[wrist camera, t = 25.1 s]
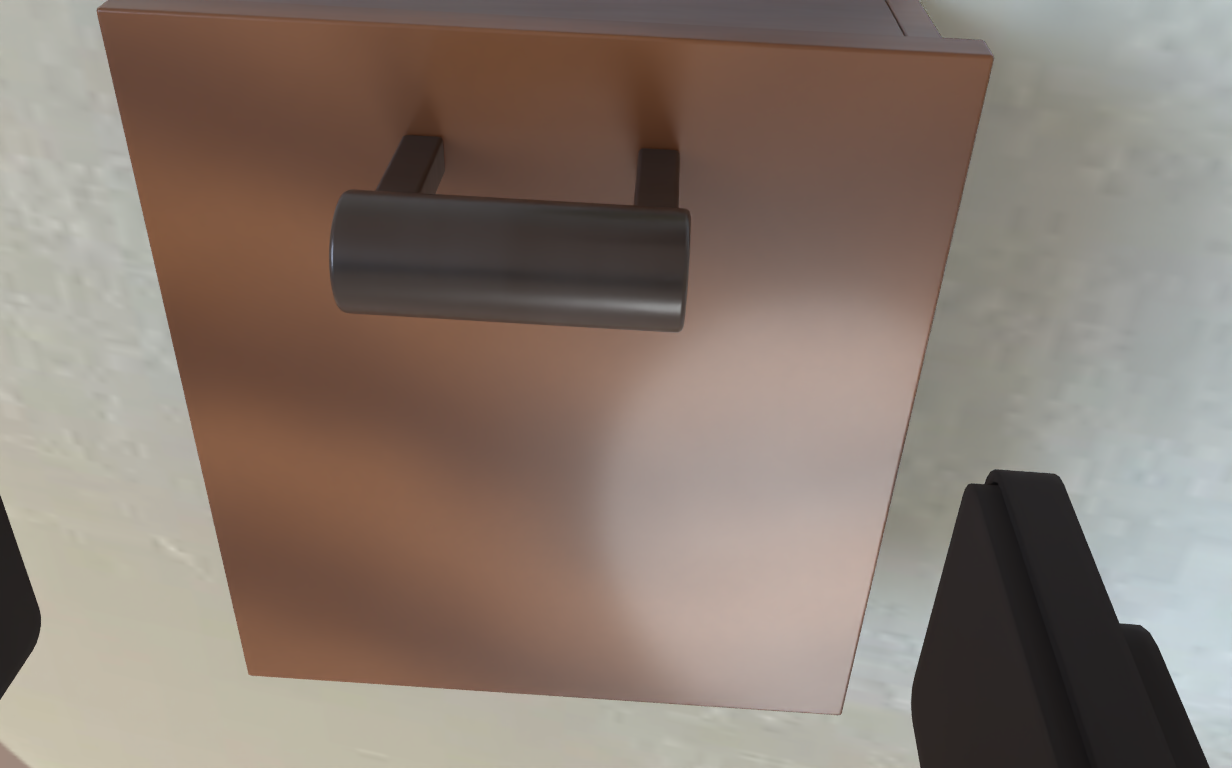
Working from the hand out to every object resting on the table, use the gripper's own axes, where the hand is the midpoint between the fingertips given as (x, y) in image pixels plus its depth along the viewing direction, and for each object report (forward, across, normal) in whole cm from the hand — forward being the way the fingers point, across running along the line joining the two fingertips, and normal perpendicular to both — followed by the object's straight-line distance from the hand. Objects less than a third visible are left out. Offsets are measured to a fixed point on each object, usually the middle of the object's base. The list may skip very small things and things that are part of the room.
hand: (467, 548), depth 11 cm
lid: (+11, +1, +6) cm, 13 cm away
